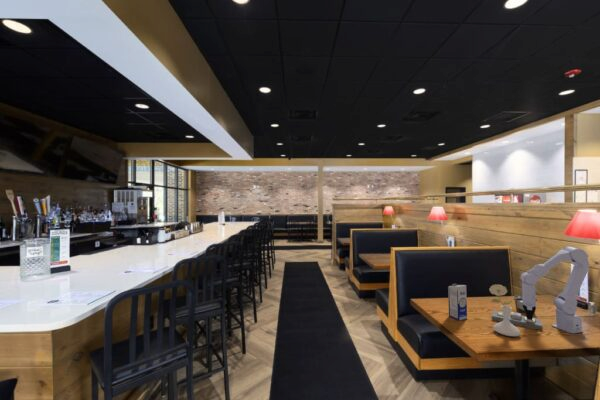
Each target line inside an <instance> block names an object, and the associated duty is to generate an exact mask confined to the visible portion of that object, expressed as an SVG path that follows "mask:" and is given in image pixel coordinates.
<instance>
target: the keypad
mask: <svg viewBox="0 0 600 400" xmlns="http://www.w3.org/2000/svg"><path fill="white" fill-rule="evenodd" d="M498 312H501V313H503V311H500V310H494V309H493V310H492V314H491V320H492V321H495V322H499V323H500V322H502V321H503V319H504V316H498ZM524 317H526V315H523V314H521V320H519V319H514V318H511V312H509V321H510V323H511V324H513V325H514V326H520V327H525V328H528V329H529V328H530V329H535V330H540V331H543V322H542V318H537V317H533V319H535V323H534V322H529V321H525V318H524Z"/></svg>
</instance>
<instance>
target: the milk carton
mask: <svg viewBox="0 0 600 400" xmlns="http://www.w3.org/2000/svg"><path fill="white" fill-rule="evenodd" d="M447 290H448V293H447V295H448V317H449V318H451V319H454V320H456V321H458V322H459V321H463V320H468V306H467V305H468V303H467V302H468V301H467V284H457V283H451V285H449V286H447Z"/></svg>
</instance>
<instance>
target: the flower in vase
mask: <svg viewBox="0 0 600 400" xmlns="http://www.w3.org/2000/svg"><path fill="white" fill-rule="evenodd" d="M489 292H490V293H491V294H492V295H495V296H498V299H497V298H493V299H491V300H490V302H493V303H496V304H498V303H501V304H502V305H500V306H499V307H500V308H501V310H502V312H503V314H504V319H503V321H502V322H500V321H499V322H497V323H496V324H494V325H493V330H494V331H495V332H496V333H498V334H501V335H503V336H507V337H519V336H520V335H521V331H520V329H518V327H516V325H514V324H511V323H510V321H509V313H511V310H513V307H512V306H510V305H509V304H511V303H512V301H513V300H508V301H507V300H506V301H504V303H503V302H502V300H501V296H505V295H506V294H507V293H508V289H507V287H506V286H503V285H502V284H496V283H495V284H492V285H491V286H490V288H489Z"/></svg>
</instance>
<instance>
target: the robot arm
mask: <svg viewBox="0 0 600 400" xmlns="http://www.w3.org/2000/svg"><path fill="white" fill-rule="evenodd" d="M564 261H565V262H568V261H569V262H571V264H572V265H573V268H572V270H571V272H570V274H569V277H568V279H567V282H566V284H565V286H564V287H563V290H562V291H561V292H560V293H558V295H557V296H556V297H554V298H553V305H554V306H555V323H556V324H551V326H552V327H554V328H557V329H559V330H561V331H564V332H567V333H569V334H577V333H578V334H579V333H583V332H584V331H583V322H582V318H581V317H580V316H579V315H576V314H575V313H576V312H577V311H578V306H577V305H578V300H577V296H578V294H579V291H580V289H581V287H582V285H583V282H584V280H585V279H586V276H587V275H588V272H589V270H590V261H589V254H588V253H587V252H586V251H585V250H584V249H582V248H577V247H573V246H569V245H567V246H564V247H563V248H561V249H560V250H558V252H557V253H556V254H555V255H553V256H551V258H549V259H548V260H547V261H545V262H544V263H539V264H535V265H533V267H532V268H531V269H530V270H527V271H526V272H522V273H521V274H520V276H519V279H520V280H521V293H522V294H521V295H522V300H523V301H520V303H523V304H524V305H523V308H524V310H525V313H526V314H525V316H526V317H527V319H529V320H532V318H534V315H535V314H534V312H535V313H536V310H537V308H536V306H537V301H536V299H537V298H536V295H537V294H536V284H538V280H540V279H541V278H543V277H544V276H546V275H547V274H549V270H550V269H551V268H553V267H555V266H557V265H559V264H560V263H562V262H564Z"/></svg>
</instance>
